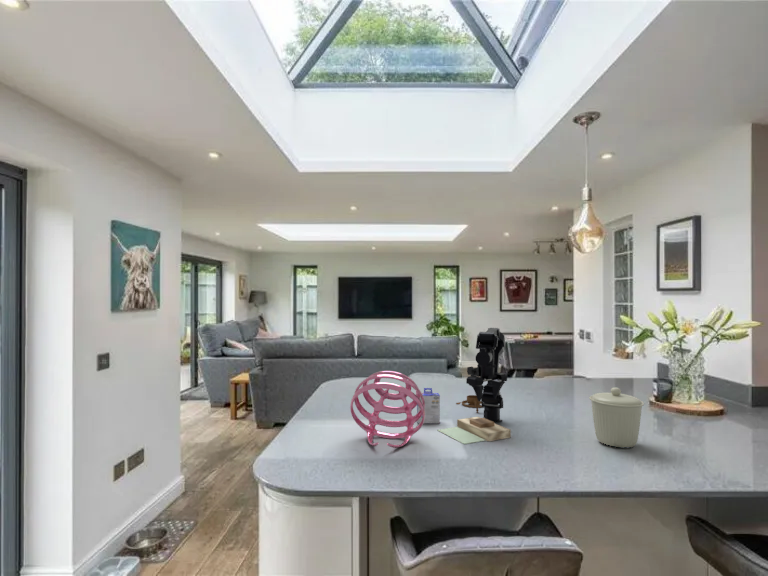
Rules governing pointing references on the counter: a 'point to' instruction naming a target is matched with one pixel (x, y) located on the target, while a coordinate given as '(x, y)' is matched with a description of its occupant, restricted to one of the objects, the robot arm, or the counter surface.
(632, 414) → the canister
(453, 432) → the sage mat
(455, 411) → the counter surface
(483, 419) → the walnut coaster
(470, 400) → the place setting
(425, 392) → the ink cartridge box
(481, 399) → the robot arm
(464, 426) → the board
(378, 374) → the spiral basket
